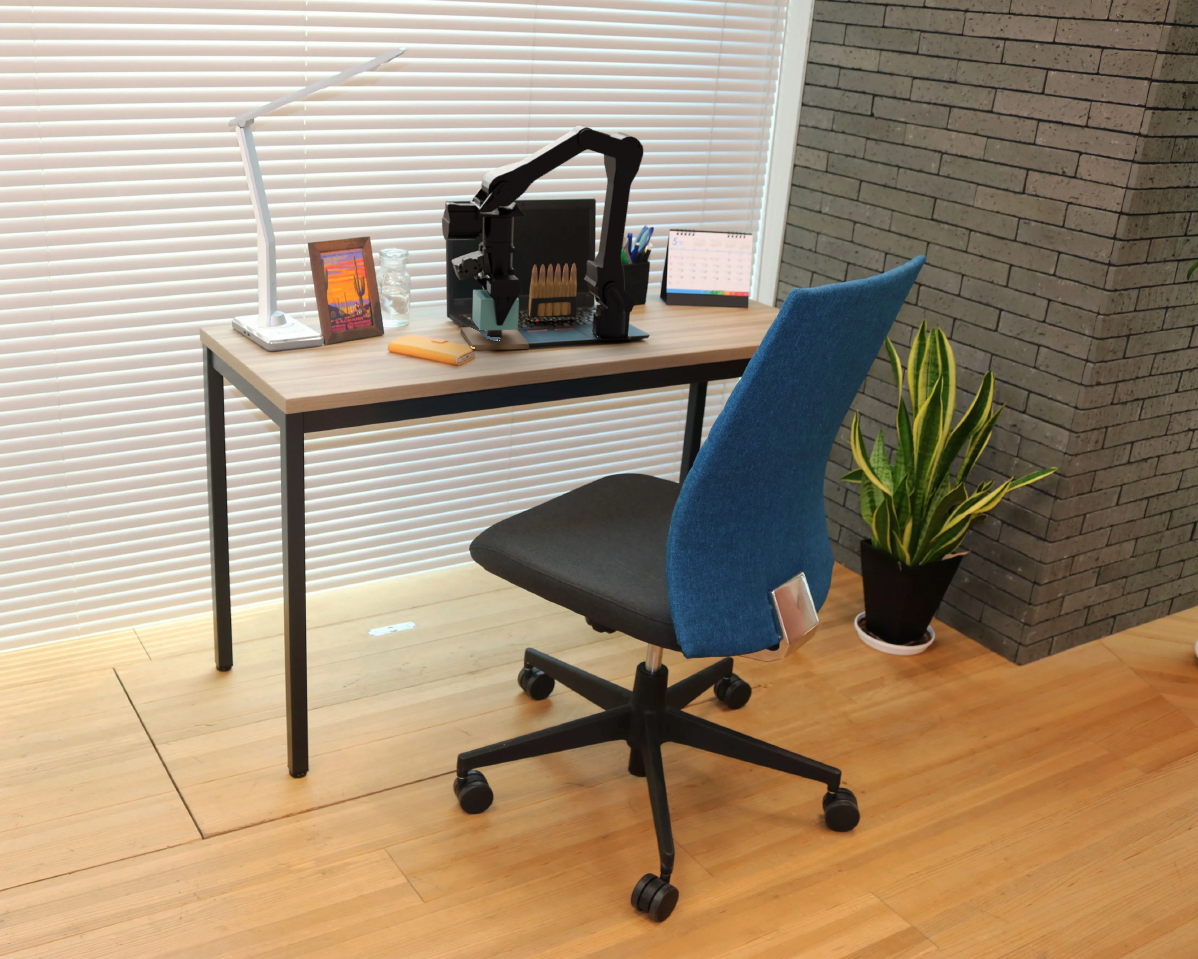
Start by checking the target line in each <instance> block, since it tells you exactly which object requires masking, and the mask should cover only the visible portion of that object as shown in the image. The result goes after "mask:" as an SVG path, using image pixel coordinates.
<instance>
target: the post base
mask: <svg viewBox="0 0 1198 959" xmlns="http://www.w3.org/2000/svg"><path fill="white" fill-rule="evenodd" d="M471 327H472V326H471ZM471 327H470V326H469V327H467V326H466V327H464V326H463V327H460V334H461V335H462V336H463V339H465V341H466V342H467V344H468V345H469V347H470V346H472V347H475V349H476V350H475V351H490V350H492V351H493V350H496V351H497V350H529V349H530V343H529V342H528V341H527V339H526V338H525V337H524V336H523V334H522V333H521V332H520V331H519V329H518V330H485V331H487V336H490V337H500V338H501V339H498V341H493V340H490V339H486V337H484V336H483V335H482V334H481V333H480V332H479V331H477V330H475V329H473V328H471ZM502 333H503V334H502ZM499 340H500V341H499Z"/></svg>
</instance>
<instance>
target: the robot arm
mask: <svg viewBox="0 0 1198 959" xmlns="http://www.w3.org/2000/svg"><path fill="white" fill-rule="evenodd" d="M587 150H589V151H592V152H595V153H597V154H601V155H603V164H604V169H605V173H606V174H605V175H606V180H607V181H606V188H605V189H606V191H605V199H604V207H603V213H602V222H601V230H600V236H599V237H600V238H599V244H598V246H599V247H598V252H597V255H596V256H595V258H594V260H589V259H588V260H587V261H586V272H585V276H584V278H583V280H584V281H586V288H587V289H588V291H589V292H590V293H591V294H592V295H593V296H594V299H595V303H596V302H597V303H598V304H596V308H595V312H593V315H592V316H593V317H592V327H591V328H592V329H591V333H592V332H593V333H594V334H595V335H596V336H598V337H599V338H600V339H599V338H598V339H599V341H602V342H603V341H605V342H606V341H631V339H632V337H631V336H630V335H629V330H630V327H629V326H630V318H631V317H630V316H631V312H632V311H633V309H634V307H635V305H636V302H635V300H633V298H632V297H631V296H630V295H629V294H628V292H626V290H625V288H626V286H625V285H626V284H625V283H626V280H625V270H624V265H623V259H622V253H623V252H622V251H623V244H624V238H625V230H626V223H627V215H628V209H629V200H630V194H631V186H632V183H633V181H634V180H635V178H636V176H637V174H638V173H639V170H640V167H641V164H642V160H643V157H644V146H643V144H642V143H641V141H640V140H639V139H638V138H637V137H635V136H633V135H629V134H627V133H625V132H619V131H617V132H614V133H612V134H608V133H604V132H602V131H599V130H595V129H593V128H591V127H589V126H585V125H583V124H581V125H580V124H579V125H577V126H574V127H573V128H572V130H570V131H568V132H567V133H566V134H564V135H562V136H560V137H559V138H557V139H555V140H553V141H552V142H550V143H549V144H546V145H545V146H544V147H541V148H540V149H539V150H537V151H535V152H533V153H532V154H530V155H528V156H527V157H526V158H523V159H521V160H519V161H517V162H513V163H509V164H505V165H502V166H500V167H496V168H494V169H492V170H491V169H490V170H489V171H488V172H486V173H485V174H484V175H483V176H482V181H481V184H480V185H481V186H480V188H479V189H478V190H477V191H476V193H475V194H474V196H473V197H472V198H471V200H470V201H469V203H466V202H465V203H461V202H460V203H456V202H452V201H447V202H446V203H445V209H444V211H443V216H442V218H441V227H442V228H441V229H442V236H443V239H444V240H445V241H467V240H468V241H475V240H476V239H477V238H478V237H480V236H481V235H482V242H481V241H480V242H479V244H478V250H477V251H472V252H470V253H467V254H464V255H461V256H458V257H455V258H453V259H451V264H452V267H453V270H454V272H455V276H456V277H457V278H458V280H459V281H465V280H467V279H468V278H470V277H472V276H473V278H474V279H475V280H476V281H477V282H478V283H479V285H481V287H482V290H487V291H486V292H487V293H488V294H489V296H491V297H492V298H493V302H494V309H495V317H496V324H497V325H498V326H501V325H503V323H504V321H505V319H506V317H507V315H508V313H509V311H510V310H511V308H512V306H513V304H514V302H515V301H516V299H517V298H518V297H520V296H521V295H524V284H523V283H522V281H520V279H519V278H518V277H517V276H516V275H515V269H514V268H513V254H516V247H515V246H514V221H515V220H514V219H515V218H525V216H526V213H525V212H523V211H522V210H521V208H520V207H519V205H518V204H517V203H516V202H515V201H516V200H518V199H519V198H521V196H522V195H524V193H526V192H527V190H528V189H529V187H530V186H531V185H533V183H534V182H535V181H536V180H538V179H540V178H542V177H543V176H545V175H547V174H549V173H550V172H551V171H553V170H555V169H557V168H559V166H560V167H561V165H564V163H566V162H568V161H570V160H572V159H573V158H575V157H576V156H578V155H579V154H582V153H583V152H585V151H587ZM593 333H592V334H593ZM594 334H593V335H594ZM595 335H594V336H595ZM628 335H629V336H628ZM596 336H595V337H596Z"/></svg>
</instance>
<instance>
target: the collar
mask: <svg viewBox="0 0 1198 959" xmlns="http://www.w3.org/2000/svg"><path fill="white" fill-rule="evenodd" d="M486 291H487V290H483V289H473V290H472V319H471V320H472V321H473V323H474V324H475V325H476V327H478V328H479V330H518V331H519V312H520V310H519V309H520V308H519V307H520V298H518V297H517V299H516V301H515V302H514V304H513V306H512V308H511V310H510V311H509V313H508V315H507V317H506V319H505V321H504V323H503V325H501V326H498V325H497V324H496V317H495V309H494V302H493V298H492V297H491V296H489V294H488V293H487V292H486Z"/></svg>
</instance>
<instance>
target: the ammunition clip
mask: <svg viewBox="0 0 1198 959" xmlns="http://www.w3.org/2000/svg"><path fill="white" fill-rule="evenodd" d="M571 266H572V267H571V270H570V278H569V266H568V263H565V265H564V266H563V271H562V270H561V265H560V263H557V265H556V267H555V272H554V270H553V265H552V263H550V264H549V265H548V269H547V276H546V268H545V265H544V263H542V264H541V266H540V270H539V276H538V267H537V264H534V265H533V267H532V270H531V279H530V286H529V296H528V304H527V311H526V312H527V314H526V317H527V316H528V315H529V316H530V318H534V317H577V316H578V315H577V314H578V312H577V310H578V308H577V304H578V302H577V301H578V296H577V286H578V285H577V284H578V282H577V267H576V266H577V265H576V263H575V262H573V264H572V265H571ZM561 272H562V273H561ZM561 276H562V278H561ZM538 277H539V278H538Z"/></svg>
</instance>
